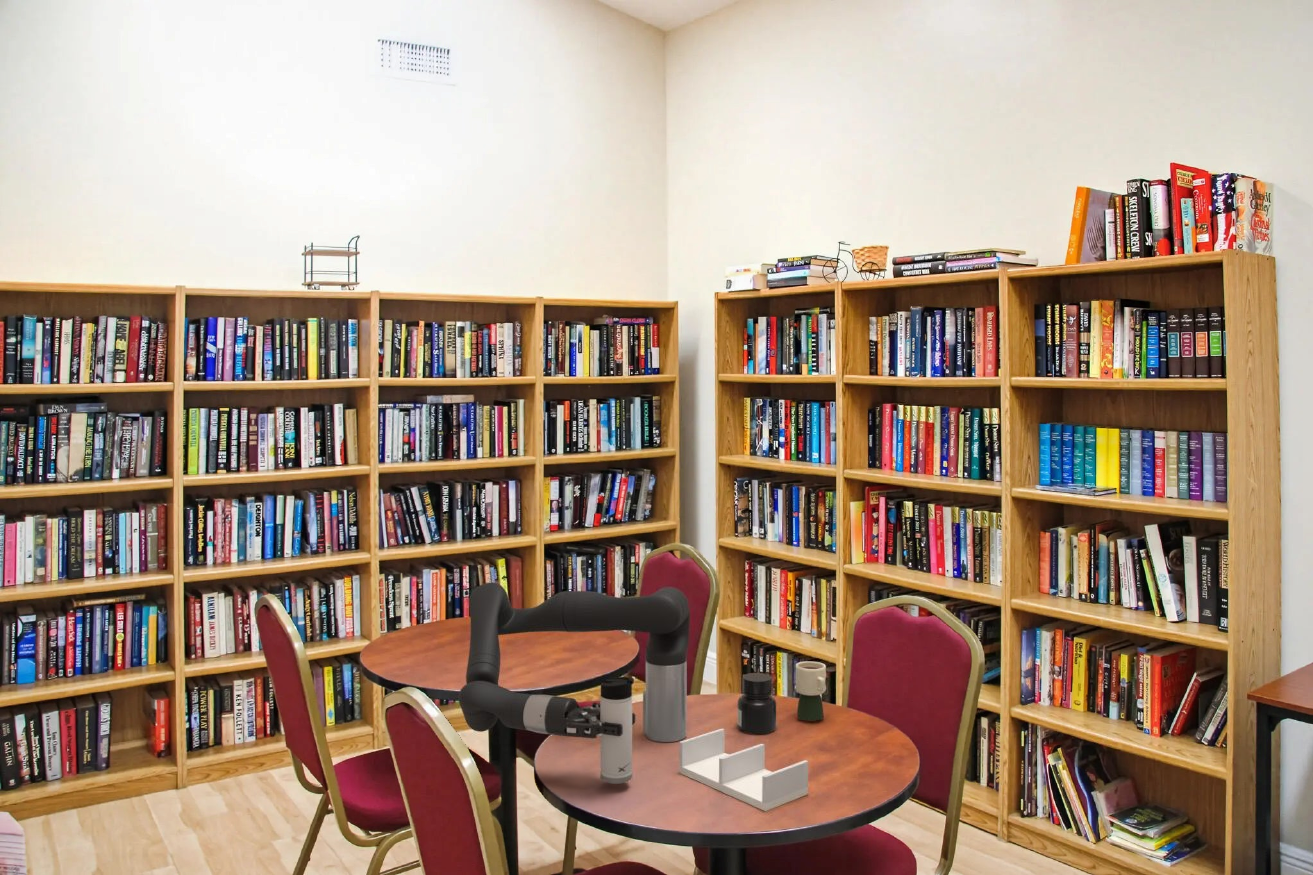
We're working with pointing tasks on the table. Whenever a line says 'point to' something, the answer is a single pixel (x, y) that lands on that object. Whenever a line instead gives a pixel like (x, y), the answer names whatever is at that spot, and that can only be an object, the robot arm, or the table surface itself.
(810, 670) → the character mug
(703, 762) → the rack
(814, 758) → the table surface
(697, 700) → the table surface
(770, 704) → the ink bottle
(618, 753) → the travel mug
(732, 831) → the table surface
